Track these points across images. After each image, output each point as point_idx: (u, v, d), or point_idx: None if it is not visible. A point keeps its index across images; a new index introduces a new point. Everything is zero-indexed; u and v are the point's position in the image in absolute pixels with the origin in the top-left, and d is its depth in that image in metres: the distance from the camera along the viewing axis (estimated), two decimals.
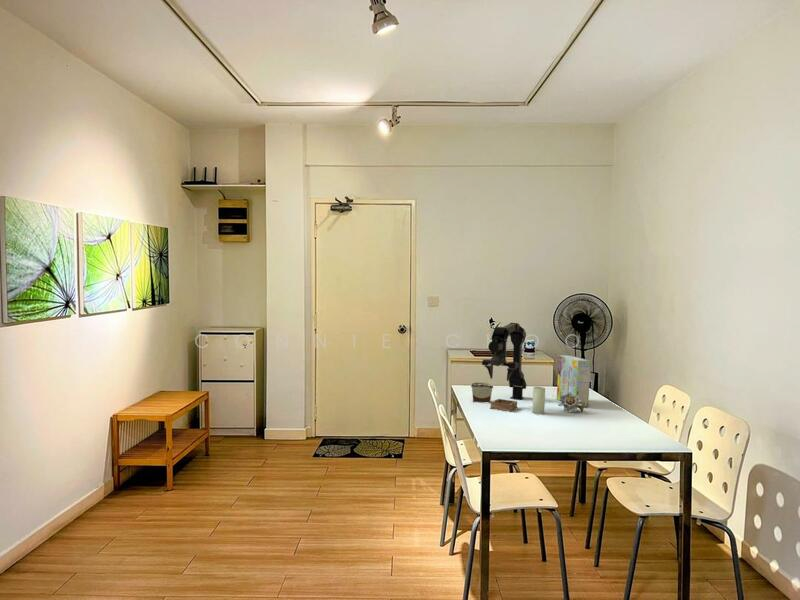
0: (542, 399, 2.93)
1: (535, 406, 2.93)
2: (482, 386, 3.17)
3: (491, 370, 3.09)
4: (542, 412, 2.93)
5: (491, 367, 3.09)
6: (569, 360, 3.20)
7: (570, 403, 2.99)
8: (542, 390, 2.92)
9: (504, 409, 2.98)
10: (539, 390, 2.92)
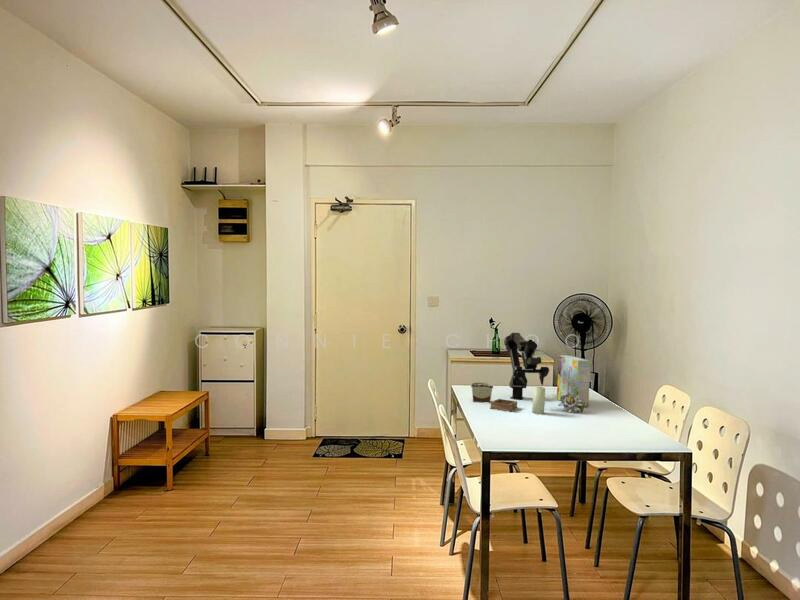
0: (542, 399, 2.93)
1: (535, 406, 2.93)
2: (482, 386, 3.17)
3: None
4: (542, 412, 2.93)
5: None
6: (569, 360, 3.20)
7: (570, 403, 2.99)
8: (542, 390, 2.92)
9: (504, 409, 2.98)
10: (539, 390, 2.92)
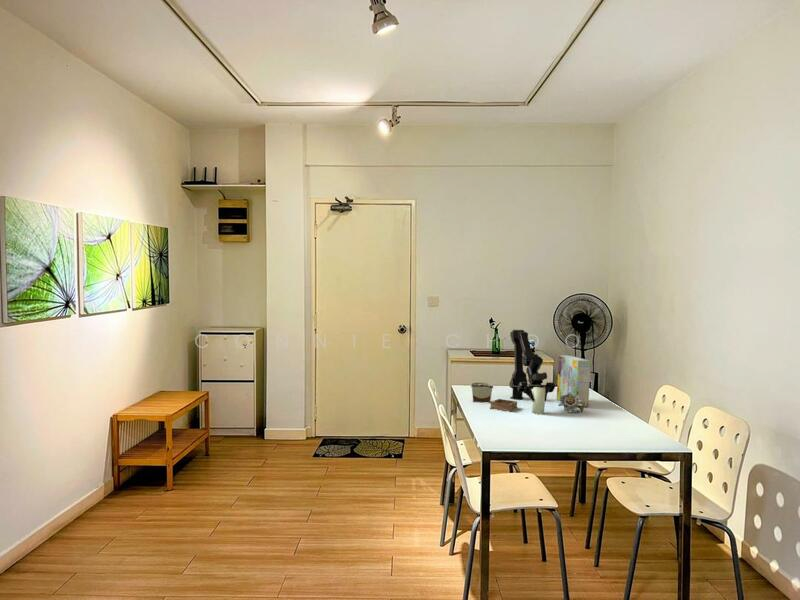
0: (542, 399, 2.93)
1: (535, 406, 2.93)
2: (482, 386, 3.17)
3: None
4: (542, 412, 2.93)
5: None
6: (569, 360, 3.20)
7: (570, 403, 2.99)
8: (542, 390, 2.92)
9: (504, 409, 2.98)
10: (539, 390, 2.92)
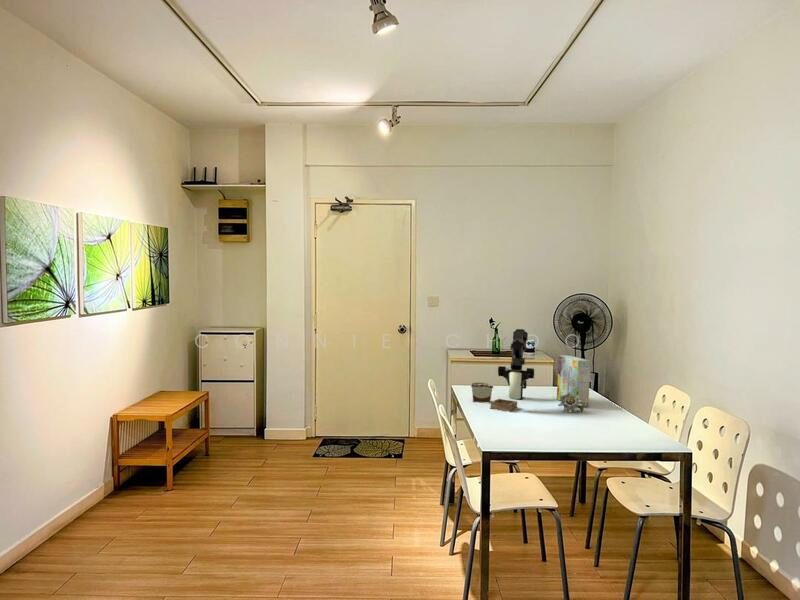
0: (516, 384, 2.97)
1: (510, 390, 2.98)
2: (482, 386, 3.17)
3: None
4: (517, 396, 2.97)
5: None
6: (569, 360, 3.20)
7: (570, 403, 2.99)
8: (516, 375, 2.96)
9: (504, 409, 2.98)
10: (514, 375, 2.97)
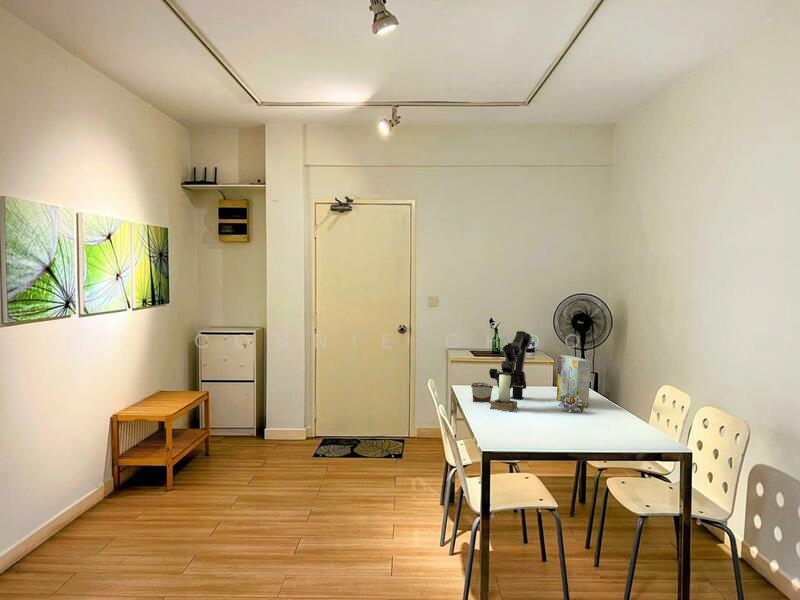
0: (505, 386, 3.00)
1: (499, 392, 3.02)
2: (482, 386, 3.17)
3: None
4: (505, 399, 3.01)
5: None
6: (569, 360, 3.20)
7: (570, 403, 2.99)
8: (505, 377, 3.00)
9: (504, 409, 2.98)
10: (502, 377, 3.01)
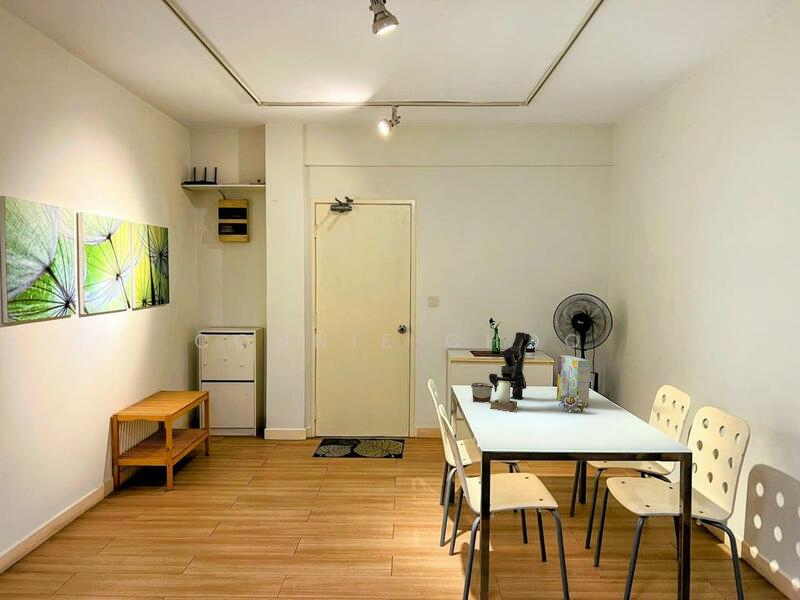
0: (504, 394, 3.00)
1: (499, 400, 3.03)
2: (482, 386, 3.17)
3: (496, 385, 3.07)
4: None
5: (497, 383, 3.08)
6: (569, 360, 3.20)
7: (570, 403, 2.99)
8: (504, 385, 3.00)
9: (504, 409, 2.98)
10: (502, 385, 3.01)
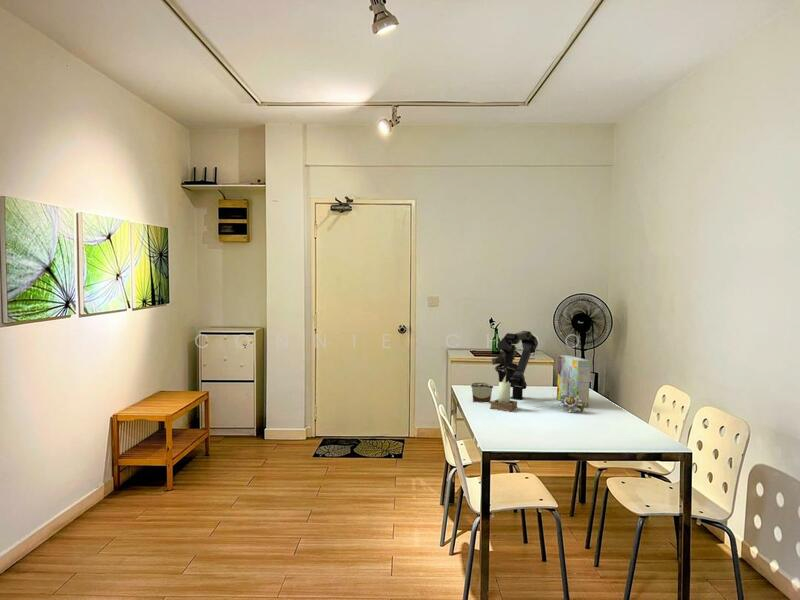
0: (504, 394, 3.00)
1: (499, 400, 3.03)
2: (482, 386, 3.17)
3: (501, 375, 3.21)
4: None
5: (502, 372, 3.22)
6: (569, 360, 3.20)
7: (570, 403, 2.99)
8: (504, 385, 3.00)
9: (504, 409, 2.98)
10: (502, 385, 3.01)
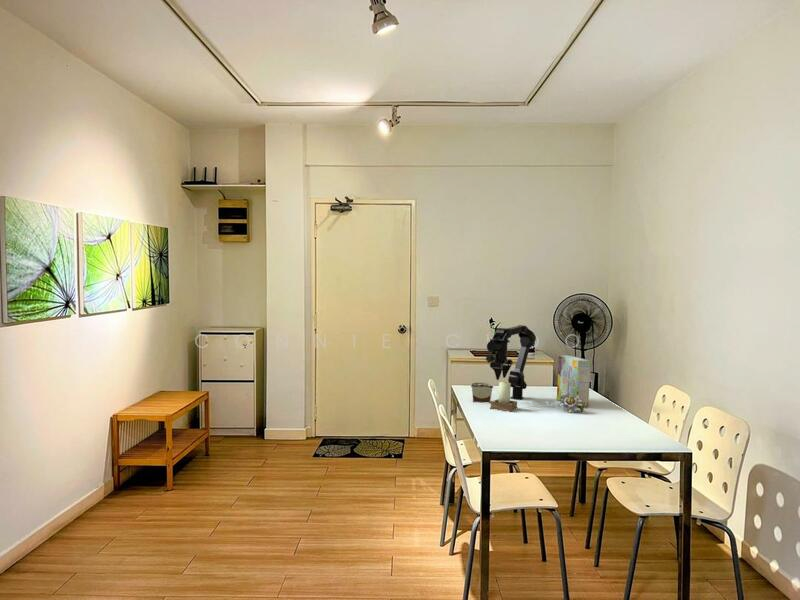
0: (504, 394, 3.00)
1: (499, 400, 3.03)
2: (482, 386, 3.17)
3: (504, 369, 3.23)
4: None
5: (505, 367, 3.23)
6: (569, 360, 3.20)
7: (570, 403, 2.99)
8: (504, 385, 3.00)
9: (504, 409, 2.98)
10: (502, 385, 3.01)
